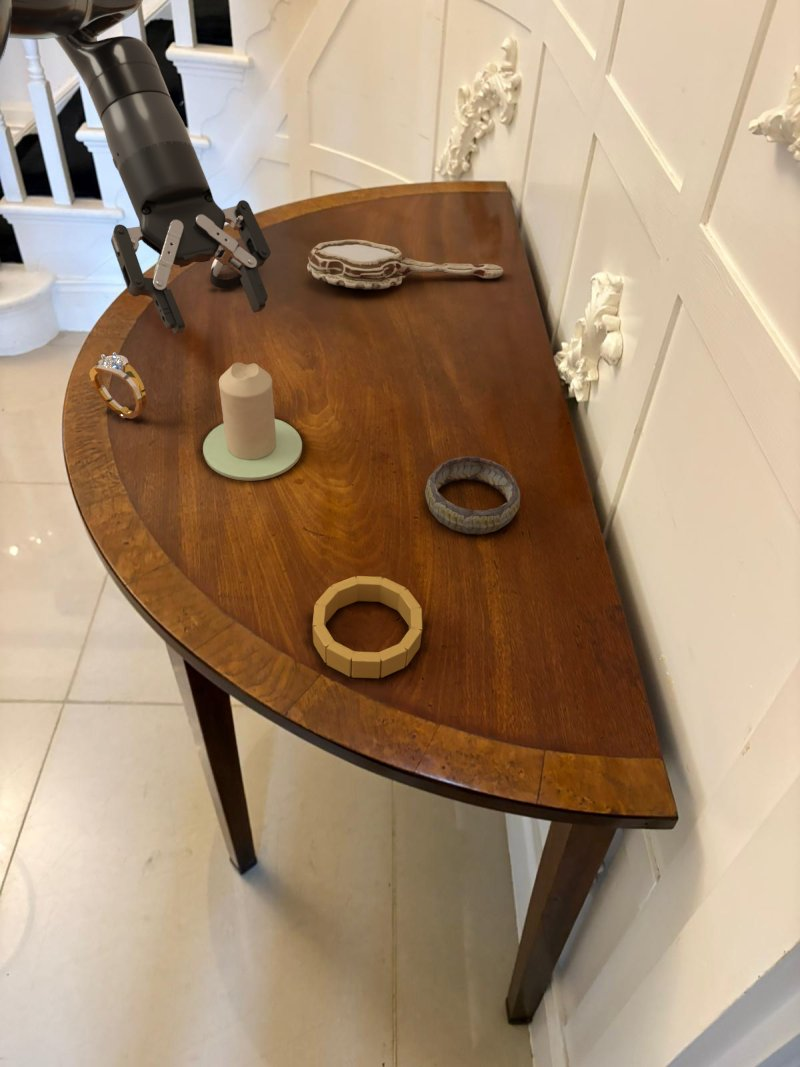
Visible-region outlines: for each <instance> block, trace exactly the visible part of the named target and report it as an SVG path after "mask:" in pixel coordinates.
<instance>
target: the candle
mask: <svg viewBox="0 0 800 1067" xmlns="http://www.w3.org/2000/svg"><path fill="white" fill-rule="evenodd" d="M218 387H219V396H220V404H221V411H222V420H223V423H224V428H225V436H226V443H227V447H228V450H229V452H230V453H231V454H232V455H234V456H236V457H238V458H241V459H247V460H253V459H259V458H263V457H265V456H267V455H269V454H270V453H271V452H272V451H273V450H274V448H275V446H276V431H275V419H276V418H275V417H276V416H275V404H274V390H273V378H272V376H271V374H270V373H269V372H267V371H266V370H265V369H264V368H262V367H261V366H259V365H258V364H257V363H256V362H253V363H248V364H245V363H243V362H233V364H231V366H230V367H229V368H228V369H227V370H226V371H224V373H222V374H221V375H220V377H219V379H218Z"/></svg>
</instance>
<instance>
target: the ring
mask: <svg viewBox="0 0 800 1067" xmlns="http://www.w3.org/2000/svg"><path fill="white" fill-rule="evenodd" d="M100 357H101V359H100V360H98V361H97V362H96V364H95V365H94V366H93V367H92V368H91V369H90V370H89V372H88V374H89V379H90V381H91V383H92V385H93V387H94V389H95V391H96V392H97V394H98V395H99V397H100V399H102V401H103V402H104V403H105V404H106V405H107V406H108V407H109V408H110V409H111V410H112V411H113V412H114V413H116V414H117V415H118V416H119V417H120V418H121V419H129V420H130V419H134V418H136V417H138V416H140V415H141V414H142V413H143V412H144V411H145V408H146V405H147V394H146V390H145V386H144V383H143V381H142V378H141V376H140V375H139V374H138V372H137V371H136V369H134V367H133V366H131V365H130V364H129V360H128V358H127V357H126V356H124V355H121V354H117V353H116V351H114V352H112V355H107V356H106V354H104V353H102V354H101V355H100ZM104 372H105V373H109V374H111V375H114V376H116V377H118V378H120V379H121V380H122V381H123V382H124V383H126V385H127V386H128V387H129V389H130V391H131V392H132V394H133V397H134V400H135V408H134V410H130V409H129V408H128V407H127V406H122V405H120V404H119V402H117V401H116V400H115V399H114V398H113V396H112V395H111V394H110V393H109V391H108V390H107V388H106V386H105V383H104V381H103V380H104V379H103V374H102V373H104Z"/></svg>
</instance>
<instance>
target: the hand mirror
mask: <svg viewBox="0 0 800 1067" xmlns="http://www.w3.org/2000/svg"><path fill="white" fill-rule="evenodd" d="M307 258H308V263H307V266H306V269H307V272H308V273H309V274H311V275H312V277H313V278H314V279H316V280H318V281H322V282H326V283H328V284H330V285H333V286H339V287H345V288H349V289H363V290H384V289H388V288H390V287H392V286H395V287H397V286H400V285H401V284H402V282H403V280H405V278H406V277H407V276H408V275H412V274H426V273H427V274H428V273H429V274H433V273H445V274H448V275H457V276H470V275H471V276H472V275H473V276H477V277H479V278H481V279H485V280H488V279H497V278H499V277H501V276H503V273H504V268H503V267H502V266H500V265H497V264H493V263H482V264H481V263H480V264H472V263H451V262H444V263H442V264H436V263H435V262H429V261H427V262H426V261H419V260H415V259H412V258H408V257H405V256H403V253H402V252H401V251H400V249H399V248H398V247H395V246H393V245H387V244H382V243H381V244H379V243H377V242H372V241H369V240H365V239H363V240H362V239H342V240H341V239H340V240H332V241H325V242H320V243H318V244H317V245H315V246H314V247H313V248H312V249H311V251H310V252H309V254H308V256H307Z"/></svg>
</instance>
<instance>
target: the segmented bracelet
mask: <svg viewBox="0 0 800 1067" xmlns="http://www.w3.org/2000/svg"><path fill="white" fill-rule="evenodd" d="M356 602H374V603H375V602H376V603H377V602H378V603H381V604H383V605H384V606H387V607H389V608H390V609H393V610H395V611H397V612H398V613H399V614H400V616H401V617H402V619H403V620H404V622H405V623H406V624H407V626H408V631H407V632H406V634H405V635H404V636H403V638H402V639H401V640H400V641H399V643H397V644H395V645H392V646H390V647H388V648H385V649H383V650H381V651H379V652H377V651H376V652H375V651H355V650H352V649H350V648H348V647H347V646H345V645H342V644H341V643H339V642H337V641H335V639H334V638H333V636H332V635H331V634H330V632H329V629H327V626H326V625H327V622H329V620H330V619H331V618H332V617H333V616H334V614H335V613H336V612H337V610H339V609H342V608H343V607H346V606H348V605H352V604H354V603H356ZM422 634H423V609H422V606H421V605H420V604H419V602H418V601H417V599H416V598H415V597H414V595H413V594H412V592H410V590H409V589H408V588H407V587H406V586H403V585H401V584H400V583H397V582H395V581H393V580H391V579H388V578H386V577H383V576H370V575H369V576H368V575H367V576H365V575H356V576H355V575H354V576H351V577H349V578H346V579H344V580H341V581H339V582H336V583H333V584H332V585H331V586H329V587H328V588H326V590H325V591H324V592H323V594H322V595H321V596H320V597H319V598H318V599H317V600H316V602H315V603H314V605H313V616H312V643H313V646H314V647H315V649H316V651H317V652H318V654H319V655H320V657H321V659H322V660H323V662H324V664H326V666H328V667H330V668H332V669H333V670H336V671H337V672H340V673H341V674H343V675H345V676H347V677H349V678H350V677H351V678H355V679H356V678H357V679H358V678H359V679H379V678H384V677H386V676H389V675H391V674H393V673H395V672H398V671H401V670H403V669H405V668H406V667H407V666H408V665H409V664H410V662H411V661H412V659H413V658H414V657H415V655H416V654H417V652H418V651H419V649H420V647H421V644H422Z"/></svg>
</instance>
